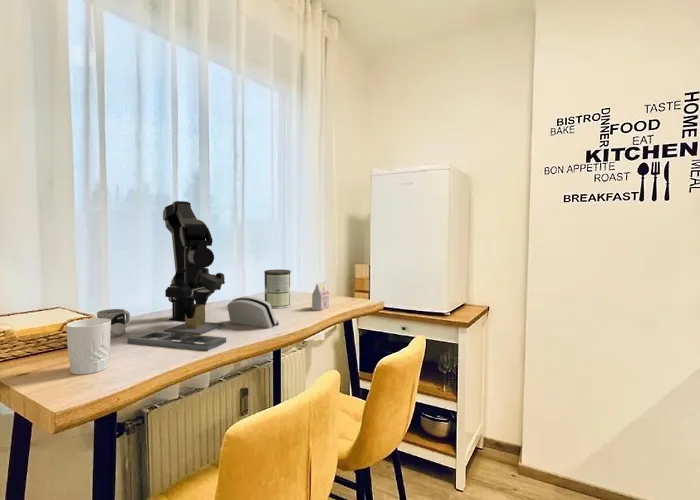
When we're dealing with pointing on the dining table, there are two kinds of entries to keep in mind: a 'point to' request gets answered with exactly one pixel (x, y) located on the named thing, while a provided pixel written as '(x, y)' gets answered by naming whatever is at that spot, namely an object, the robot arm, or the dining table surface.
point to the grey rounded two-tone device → (252, 312)
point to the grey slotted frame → (185, 343)
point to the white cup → (88, 345)
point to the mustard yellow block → (196, 317)
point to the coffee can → (277, 288)
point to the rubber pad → (198, 331)
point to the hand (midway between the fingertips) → (195, 316)
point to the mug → (116, 320)
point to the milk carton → (320, 297)
